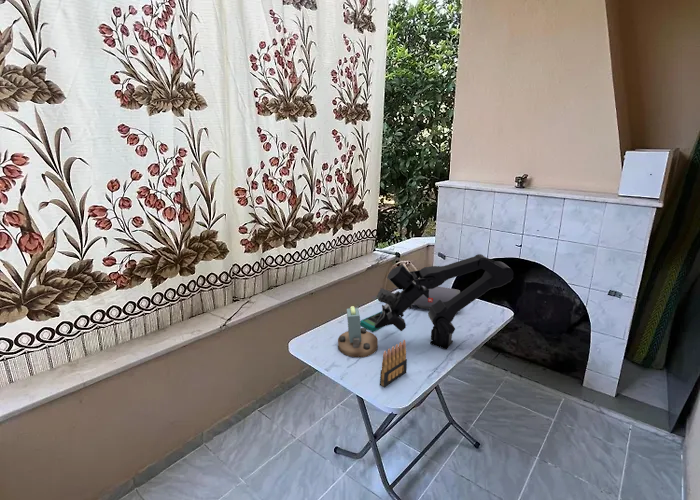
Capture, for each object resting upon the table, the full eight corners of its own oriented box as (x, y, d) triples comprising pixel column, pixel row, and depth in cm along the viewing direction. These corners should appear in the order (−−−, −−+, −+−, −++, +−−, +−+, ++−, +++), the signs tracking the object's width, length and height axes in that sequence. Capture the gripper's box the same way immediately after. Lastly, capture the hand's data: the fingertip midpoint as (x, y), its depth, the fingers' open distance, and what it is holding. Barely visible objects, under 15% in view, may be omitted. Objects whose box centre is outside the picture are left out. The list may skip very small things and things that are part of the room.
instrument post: (359, 332, 136) (357, 304, 132) (361, 341, 130) (359, 312, 126) (348, 333, 135) (346, 305, 132) (349, 342, 130) (347, 313, 126)
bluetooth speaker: (402, 309, 162) (403, 287, 159) (405, 300, 170) (407, 279, 167) (457, 316, 155) (459, 294, 152) (458, 306, 164) (460, 285, 161)
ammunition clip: (402, 370, 121) (403, 337, 117) (406, 373, 119) (408, 339, 116) (379, 385, 114) (380, 350, 110) (384, 388, 112) (385, 353, 109)
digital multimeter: (398, 320, 153) (398, 314, 152) (372, 333, 143) (372, 326, 142) (384, 314, 158) (385, 308, 157) (359, 326, 148) (359, 319, 147)
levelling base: (374, 335, 141) (375, 322, 139) (380, 356, 128) (380, 342, 126) (337, 336, 140) (337, 323, 138) (339, 358, 127) (339, 344, 125)
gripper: (387, 272, 136) (356, 301, 139) (397, 293, 118) (361, 326, 121) (407, 291, 139) (377, 319, 142) (420, 315, 121) (385, 347, 124)
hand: (375, 327), depth 132 cm, fingers closed
